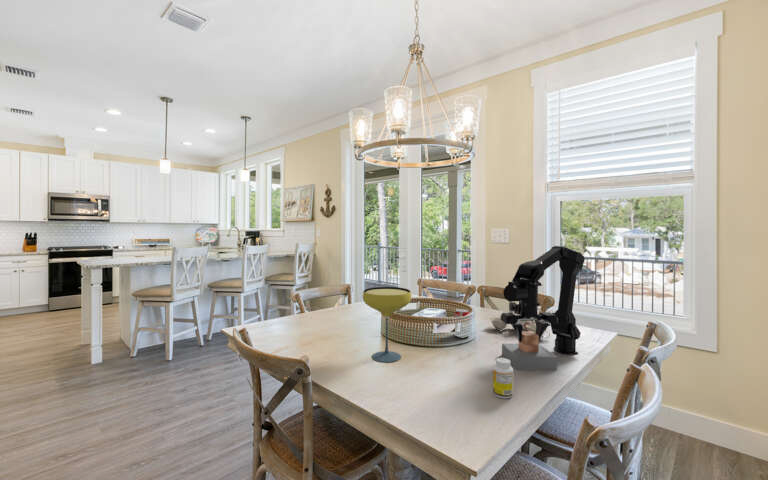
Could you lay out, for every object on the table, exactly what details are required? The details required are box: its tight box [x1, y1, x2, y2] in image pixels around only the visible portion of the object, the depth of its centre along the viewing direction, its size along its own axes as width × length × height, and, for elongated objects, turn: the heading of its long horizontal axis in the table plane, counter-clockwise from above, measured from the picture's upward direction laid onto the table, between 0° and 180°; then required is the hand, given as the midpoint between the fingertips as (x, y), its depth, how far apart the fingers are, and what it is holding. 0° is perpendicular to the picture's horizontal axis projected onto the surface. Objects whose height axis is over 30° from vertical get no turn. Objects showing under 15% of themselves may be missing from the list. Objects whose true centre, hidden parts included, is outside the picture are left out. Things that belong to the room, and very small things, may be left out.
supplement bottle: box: [492, 357, 514, 400], centre depth 101 cm, size 6×6×10 cm
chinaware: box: [489, 301, 551, 339], centre depth 162 cm, size 28×17×17 cm, turn 49°
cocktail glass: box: [362, 286, 412, 363], centre depth 130 cm, size 18×18×25 cm
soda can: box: [453, 308, 470, 318], centre depth 155 cm, size 7×7×12 cm
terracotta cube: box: [518, 331, 540, 352], centre depth 126 cm, size 5×5×6 cm
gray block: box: [501, 343, 558, 371], centre depth 126 cm, size 14×14×5 cm
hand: (528, 341), depth 126 cm, fingers open, 6 cm apart
